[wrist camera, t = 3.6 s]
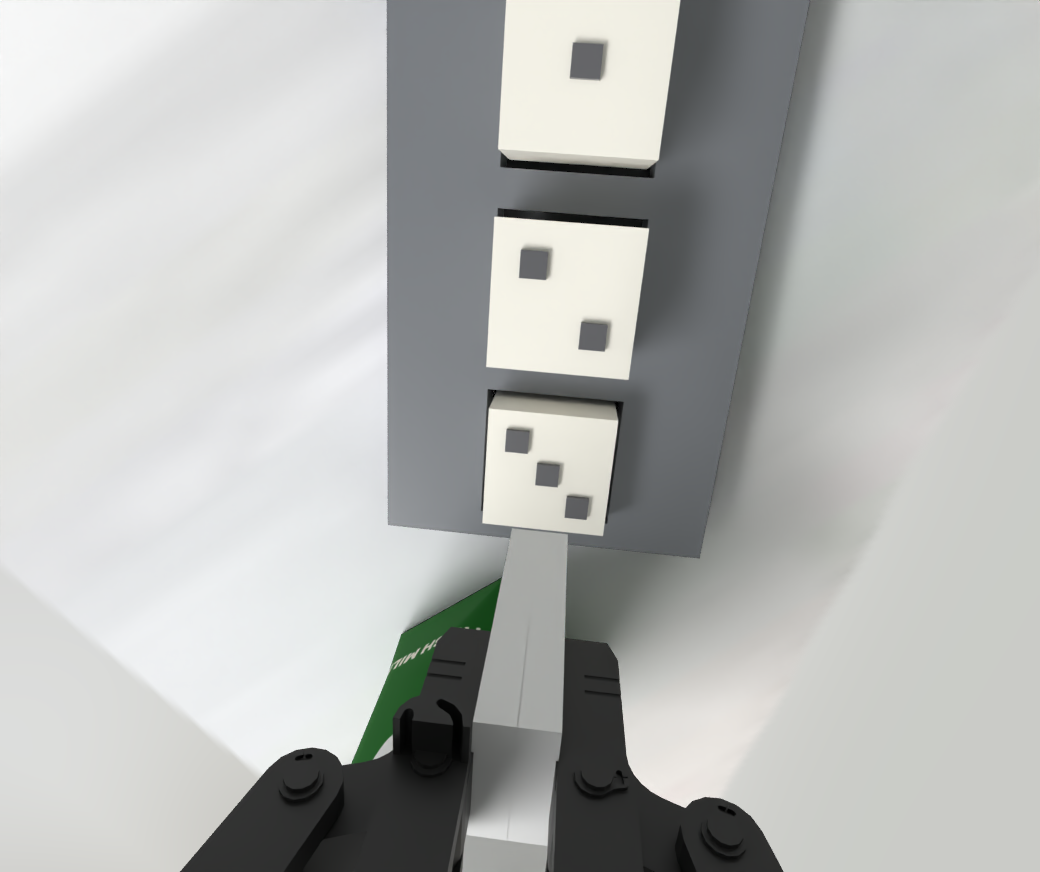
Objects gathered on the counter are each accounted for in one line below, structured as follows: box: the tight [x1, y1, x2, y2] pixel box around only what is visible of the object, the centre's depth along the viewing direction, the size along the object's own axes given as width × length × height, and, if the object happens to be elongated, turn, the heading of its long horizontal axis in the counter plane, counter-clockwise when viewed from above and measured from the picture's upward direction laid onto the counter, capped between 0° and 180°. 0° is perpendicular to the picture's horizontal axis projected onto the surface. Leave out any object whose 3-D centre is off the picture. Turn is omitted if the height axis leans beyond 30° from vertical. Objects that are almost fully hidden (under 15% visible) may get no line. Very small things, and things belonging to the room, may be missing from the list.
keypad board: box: [387, 0, 810, 558], centre depth 24 cm, size 22×14×2 cm, turn 176°
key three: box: [482, 390, 618, 536], centre depth 26 cm, size 5×5×4 cm
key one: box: [498, 0, 680, 169], centre depth 20 cm, size 5×5×4 cm
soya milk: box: [352, 578, 547, 872], centre depth 23 cm, size 9×9×20 cm
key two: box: [486, 217, 649, 380], centre depth 22 cm, size 5×5×4 cm
